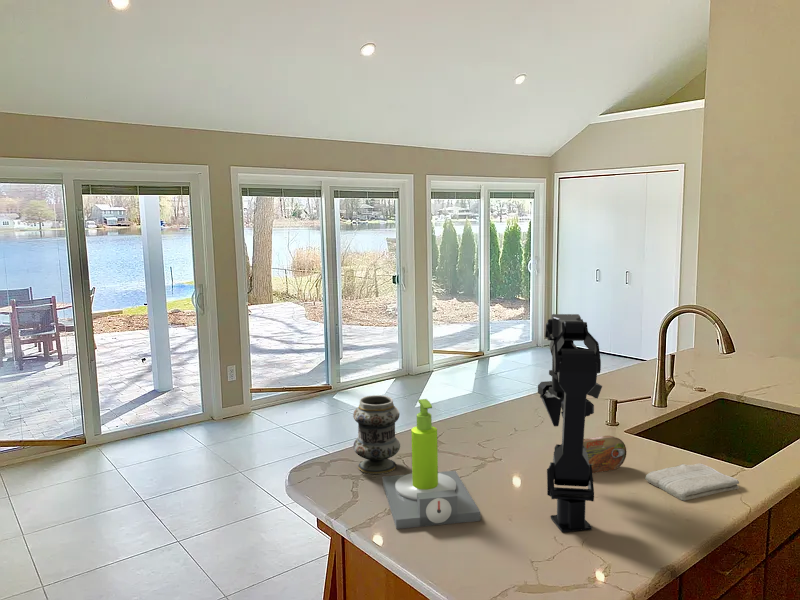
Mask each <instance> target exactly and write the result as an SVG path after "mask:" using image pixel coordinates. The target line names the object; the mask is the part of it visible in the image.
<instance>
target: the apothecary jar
mask: <svg viewBox="0 0 800 600" xmlns="http://www.w3.org/2000/svg"><path fill="white" fill-rule="evenodd" d="M352 415H353V416H352V417H353V419H354V421H355V422H356V423H358V427H357V428H358V429H357V431H358V432H357V433H358V434H357V437H356V439H355V440H354V442H353V450H354V452H355V454H357V455H358V457H360V458H363V459H364V460H363V461H361V462H360V463H359V464H358V465H357V466H358V467H357V468H358V469H359V470H361V473H365V474H368V473H369V474H368V475H383V474H382V473H384V474H388V473H391V472H392V470H393V471H395V470H396V469H397V468H396V465H397V463H396V462H395V461H394V460H392V459H390V458H393V457H394V456H395V455H397V454H398V452H400V449H401V442H400V440H399V439H398V438H397V437H396V422H398V420H399V419H400V410H399V409H398V407H396V406H395V404H394V400H393V398H392V397H390V396H388V395H383V394H382V395H381V394H380V395H379V394H377V395H375V394H373V395H366V396H363V397H361V398H360V399H359V404H358V407H356V408H355V410H354V411H353V413H352ZM390 471H391V472H390ZM387 472H388V473H387Z"/></svg>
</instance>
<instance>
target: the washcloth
mask: <svg viewBox="0 0 800 600" xmlns="http://www.w3.org/2000/svg"><path fill="white" fill-rule="evenodd" d="M645 480H646V482H647V483H649V484H650V483H651V484H650V485H652V486H654V487H656V488H658V487H659V489H661V490H662V491H664V492H666V493H667V494H668V495H670V496H673V497H675V498H677V499H678V500H680V501H683V502H684V501H689V500H692V499H693V500H694V499H699V498H702V497H707V496H711V495H714V494H719V493H723V492H724V493H725V492H728V491H735V490H738V489H740V486H739V484H740V482H739V479H737V478H734V477H732V476H730V475H726V474H724V473H722V472H720V471H718V470H716V469H714V468H713V467H711V466H709V465H706V464H704V463H695V464H684V463H682V464H680V465H677V466H672V467H665V468H662V469H659V470H653V471H650V472H648V473H647V474H646V475H645Z"/></svg>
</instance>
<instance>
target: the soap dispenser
mask: <svg viewBox="0 0 800 600" xmlns="http://www.w3.org/2000/svg"><path fill="white" fill-rule="evenodd" d="M417 402H418V403H419V412H418V413H417V414H416V425H415V426H413V427H412V428H411V429H410V430H411V435H410V436H411V465H412V466H411V468H412V470H411V473H412V481H413V486H414V487H415V488H418V489H424V490H427V489H433V488H435V487H437V486H438V472H439V466H438V465H439V463H438V462H439V459H438V458H439V457H438V456H439V454H438V453H439V451H438V429H437V427H435V426H434V425H433V424H432V414H431V413H430V412H429V411H428V410H429V409H432V408H433V406H432V405H433V404H432V403H431V402H430V401H429V400H428V399H427V398H422V399H420V398H419V399H418V401H417ZM432 425H433V426H432Z"/></svg>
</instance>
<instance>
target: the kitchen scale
mask: <svg viewBox="0 0 800 600" xmlns="http://www.w3.org/2000/svg"><path fill="white" fill-rule="evenodd" d="M382 486H383V490H384V493H385V496H386V499H387V503H388V506H389V509H390V512H391V517H392V520H393V522H394V526H395V529H396V530H398V529H399V530H400V529H410V528H418V527H420V528H421V527H430V526H441V525H442V526H443V525H451V524H461V523H462V524H463V523H470V522H471V523H472V522H480V521H481V510H480V509H479V506H477V503H476V502H475V501H474V499H473V497H472V495H471V494H470V493H469V491H468V489H467V487H466V486H465V484H464V483H463V481H462V479H461V477H460V476H459V474H458V472H457V470H446V471H445V470H444V471H438V486H437V487H435V488H433V489H427V490H424V489H418V488H415V487H414V486H413V481H412V472H411V473H407V474H399V475H388V476H382Z"/></svg>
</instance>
